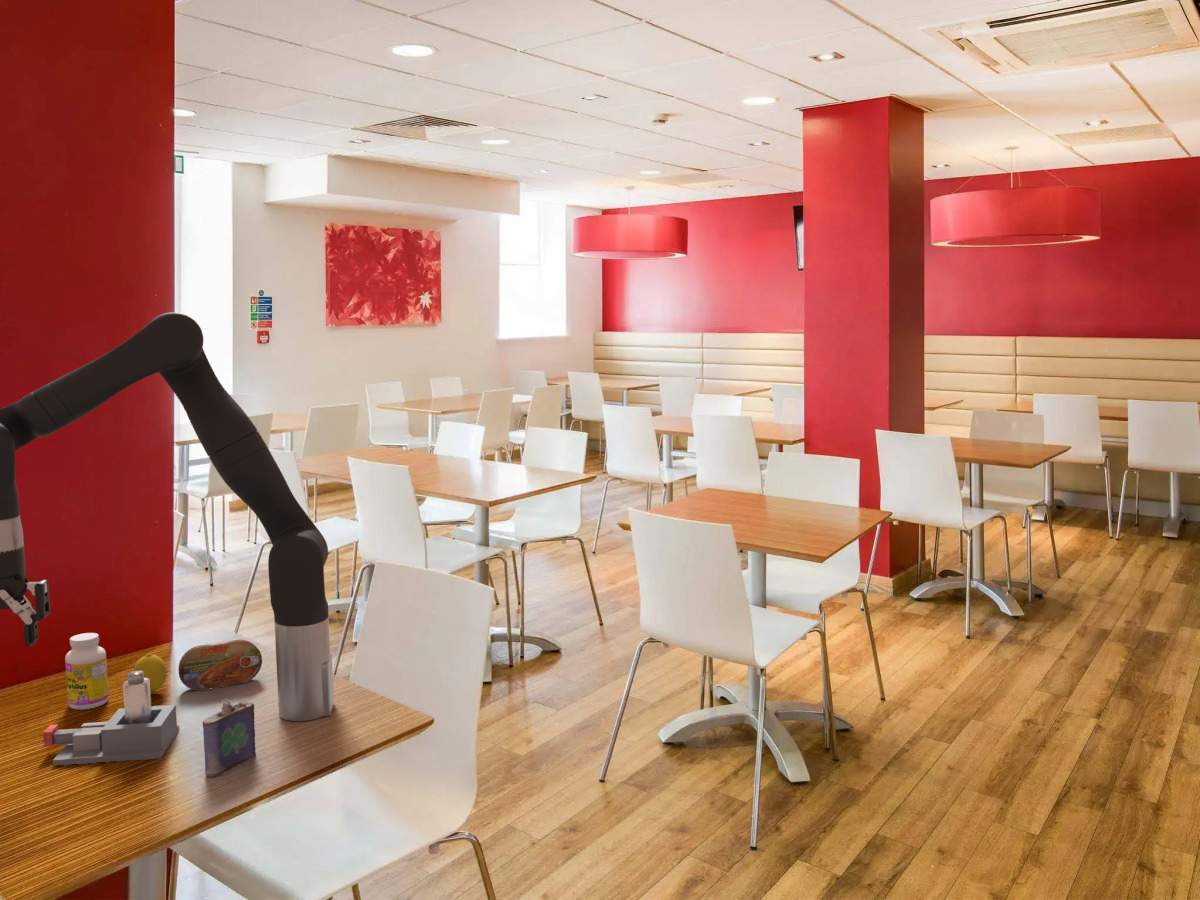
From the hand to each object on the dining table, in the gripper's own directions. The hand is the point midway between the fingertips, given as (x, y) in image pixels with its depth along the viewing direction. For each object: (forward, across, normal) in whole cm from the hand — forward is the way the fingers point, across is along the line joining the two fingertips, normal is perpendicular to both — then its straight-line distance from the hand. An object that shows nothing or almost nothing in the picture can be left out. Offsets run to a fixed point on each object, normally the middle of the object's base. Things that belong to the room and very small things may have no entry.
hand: (3, 646), depth 154 cm
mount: (+18, -16, 0) cm, 24 cm away
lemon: (+18, -15, -24) cm, 34 cm away
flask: (+18, -36, +10) cm, 41 cm away
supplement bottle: (+18, -5, -21) cm, 28 cm away
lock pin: (+17, -10, 0) cm, 19 cm away
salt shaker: (+17, -20, 0) cm, 26 cm away
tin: (+18, -27, -27) cm, 42 cm away
